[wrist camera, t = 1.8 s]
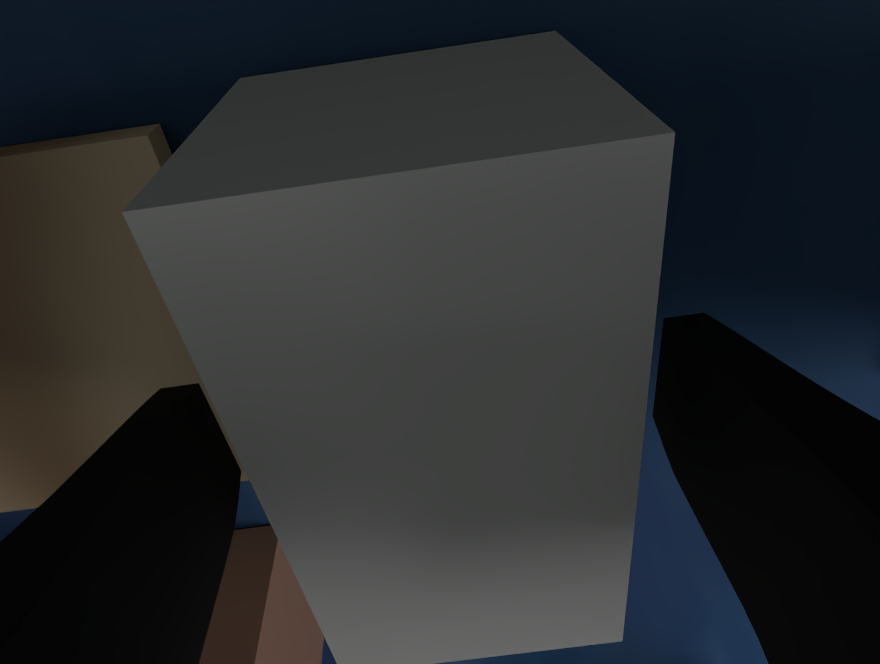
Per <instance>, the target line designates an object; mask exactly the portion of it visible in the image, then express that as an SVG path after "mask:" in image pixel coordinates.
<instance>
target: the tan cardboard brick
mask: <svg viewBox="0 0 880 664" xmlns="http://www.w3.org/2000/svg"><path fill="white" fill-rule="evenodd" d="M323 640H324V635H323V633H322V631H321V629H320V627H319V625H318V623H317V621H316V618H315V616H314V614H313V612H312V610H311V608H310V606H309V604H308V602H307V600H306V597H305V595H304V593H303V591H302V589H301V587H300V585H299V583H298V581H297V579H296V577H295V574H294V572H293V570H292V568H291V566H290V564H289V562H288V560H287V558H286V556H285V553H284V551H283V549H282V547H281V545H280V543H279V541H278V539H277V537H276V535H275V532H274V530H273V528H272V526H263V527H255V528H247V529H239V530H234V533H233V537H232V541H231V545H230V549H229V553H228V557H227V560H226V564H225V568H224V572H223V576H222V580H221V583H220V587H219V591H218V595H217V598H216V602H215V606H214V609H213V613H212V617H211V621H210V624H209V628H208V632H207V635H206V639H205V643H204V647H203V650H202V654H201V658H200V661H199V664H321V660H322V650H323Z"/></svg>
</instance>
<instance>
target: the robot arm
mask: <svg viewBox="0 0 880 664" xmlns="http://www.w3.org/2000/svg"><path fill="white" fill-rule="evenodd" d="M653 418H654V421H655V424H656V427H657V429H658V432H659V435H660V438H661V441H662V444H663V446H664V449H665V452H666V454H667V457H668V460H669V462H670V465H671V467H672V470H673V473H674V475H675V477H676V479H677V481H678V483H679V485H680V487H681V489H682V491H683V492H684V494H685V496H686V498H687V500H688V502H689V504H690V506H691V508H692V510H693V512H694V514H695V516H696V518H697V520H698V521H699V523H700V525H701V527H702V529H703V531H704V533H705V535H706V537H707V539H708V541H709V542H710V544H711V546H712V548H713V550H714V552H715V554H716V556H717V558H718V560H719V561H720V563H721V565H722V567H723V569H724V571H725V573H726V575H727V577H728V579H729V581H730V582H731V584H732V586H733V588H734V590H735V592H736V594H737V596H738V598H739V600H740V601H741V603H742V605H743V607H744V609H745V612H746V614H747V616H748V618H749V620H750V622H751V624H752V626H753V628H754V630H755V633H756V635H757V637H758V639H759V641H760V644H761V646H762V649H763V651H764V654H765V656H766V659H767V661H768V663H769V664H880V421H879V420H878V419H876V418H874V417H872V416H870V415H869V414H867V413H865V412H863V411H862V410H860V409H858V408H857V407H855V406H853V405H851V404H850V403H848V402H846V401H845V400H843V399H841V398H840V397H838V396H836V395H835V394H833V393H831V392H830V391H828V390H826V389H825V388H823V387H821V386H820V385H818V384H816V383H815V382H813V381H812V380H810V379H808V378H807V377H805V376H804V375H802V374H800V373H799V372H797V371H796V370H794V369H792V368H791V367H789V366H788V365H786V364H784V363H783V362H781V361H780V360H778V359H777V358H775V357H774V356H772V355H770V354H769V353H767V352H766V351H764V350H763V349H761V348H760V347H758V346H756V345H755V344H753V343H752V342H750V341H749V340H747V339H746V338H744V337H742V336H741V335H739V334H738V333H736V332H735V331H733V330H732V329H730V328H728V327H727V326H725V325H724V324H722V323H720V322H719V321H717V320H715V319H714V318H712V317H710V316H709V315H707V314H705V313H699V314H692V315H685V316H678V317H671V318H664V321H663V329H662V338H661V347H660V356H659V365H658V374H657V382H656V391H655V400H654V409H653ZM240 480H241V469H240V467H239V465H238V463H237V461H236V459H235V457H234V455H233V453H232V451H231V449H230V447H229V445H228V442H227V440H226V438H225V436H224V434H223V432H222V430H221V428H220V426H219V424H218V422H217V420H216V418H215V416H214V413H213V411H212V409H211V407H210V405H209V403H208V401H207V399H206V397H205V395H204V393H203V391H202V389H201V386H200V384H199V383H196V384H188V385H181V386H174V387H167V388H160V389H159V390H158V391H157V392H156V393H155V394H154V395H152V396H151V397H150V398H149V399H148V400H147V401H146V402H145V403H144V404H143V405H142V406H141V407H140V408H139V409H138V410H137V411H135V412H134V413H133V414H132V415H131V416H130V417H129V418H128V419H127V420H126V421H125V422H124V423H123V424H122V425H121V426H120V427H119V428H118V429H117V430H116V431H115V432H114V433H113V434H112V435H111V436H110V437H109V438H108V439H107V440H106V441H105V442H104V443H103V444H102V445H101V446H100V447H99V448H98V449H97V450H96V451H95V452H94V453H93V454H92V455H91V456H90V457H89V458H88V459H87V460H86V461H85V462H84V463H83V464H82V465H81V466H80V467H79V468H78V469H77V470H76V471H75V472H74V473H73V474H72V475H71V476H70V477H69V478H68V479H67V480H66V481H65V482H64V483H63V484H62V485H61V486H60V487H59V488H58V489H57V490H56V491H55V492H54V493H53V494H52V495H51V496H50V497H49V498H48V499H47V500H46V501H45V502H43V503H42V504H41V505H40V506H39V507H38V508H37V509H36V510H35V511H34V512H33V513H32V514H30V515H29V516H28V517H27V518H26V519H25V520H24V521H23V522H22V523H21V524H20V525H19V526H17V527H16V528H15V529H14V530H13V531H12V532H11V533H10V534H9V535H8V536H7V537H6V538H4V539H3V540H2V541H1V542H0V664H199V661H200V658H201V654H202V650H203V647H204V643H205V639H206V635H207V632H208V628H209V624H210V621H211V617H212V613H213V609H214V606H215V602H216V598H217V595H218V591H219V587H220V583H221V580H222V576H223V572H224V568H225V564H226V560H227V557H228V553H229V549H230V545H231V541H232V537H233V533H234V527H235V520H236V513H237V506H238V498H239V489H240Z"/></svg>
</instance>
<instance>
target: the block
mask: <svg viewBox="0 0 880 664" xmlns="http://www.w3.org/2000/svg"><path fill="white" fill-rule="evenodd" d="M674 139H675V132H674V131H673V130H672V129H671V128H669V127H668V126H667V125H666V124H665V123H664V122H662V121H661V120H660V119H659V118H658V117H657V116H655V115H654V114H653V113H652V112H651V111H649V110H648V109H647V108H646V107H645V106H644V105H642V104H641V103H640V102H639V101H638V100H637V99H635V98H634V97H633V96H632V95H631V94H629V93H628V92H627V91H626V90H625V89H624V88H622V87H621V86H620V85H619V84H618V83H617V82H615V81H614V80H613V79H612V78H611V77H609V76H608V75H607V74H606V73H605V72H604V71H602V70H601V69H600V68H599V67H598V66H596V65H595V64H594V63H593V62H592V61H591V60H589V59H588V58H587V57H586V56H585V55H584V54H582V53H581V52H580V51H579V50H578V49H576V48H575V47H574V46H573V45H572V44H571V43H569V42H568V41H567V40H566V39H565V38H564V37H562V36H561V35H560V34H559V33H558V32H556V31H550V32H543V33H537V34H530V35H523V36H517V37H510V38H503V39H497V40H490V41H483V42H477V43H470V44H463V45H457V46H450V47H443V48H437V49H430V50H423V51H417V52H410V53H403V54H397V55H390V56H383V57H377V58H370V59H363V60H357V61H350V62H344V63H337V64H330V65H324V66H317V67H310V68H304V69H297V70H290V71H284V72H277V73H270V74H264V75H257V76H250V77H244V78H240V79H239V80H238V81H237V82H236V83H235V84H234V85H233V87H232V88H231V89H230V90H229V91H228V92H227V93H226V95H225V96H224V97H223V98H222V99H221V100H220V101H219V102H218V104H217V105H216V106H215V107H214V108H213V109H212V110H211V112H210V113H209V114H208V115H207V116H206V117H205V118H204V119H203V121H202V122H201V123H200V124H199V125H198V126H197V127H196V129H195V130H194V131H193V132H192V133H191V134H190V135H189V136H188V138H187V139H186V140H185V141H184V142H183V143H182V144H181V146H180V147H179V148H178V149H177V150H176V151H175V152H174V154H173V155H172V156H171V157H170V158H169V159H168V160H167V161H166V163H165V164H164V165H163V166H162V167H161V168H160V169H159V171H158V172H157V173H156V174H155V175H154V176H153V177H152V178H151V180H150V181H149V182H148V183H147V184H146V185H145V186H144V188H143V189H142V190H141V191H140V192H139V193H138V194H137V195H136V197H135V198H134V199H133V200H132V201H131V202H130V203H129V205H128V206H127V207H126V208H125V209H124V210H123V211H122V214H123V216H124V218H125V220H126V222H127V224H128V226H129V228H130V230H131V232H132V235H133V237H134V239H135V241H136V243H137V245H138V247H139V249H140V251H141V253H142V256H143V258H144V260H145V262H146V264H147V266H148V268H149V270H150V272H151V274H152V276H153V279H154V281H155V283H156V285H157V287H158V289H159V291H160V293H161V295H162V297H163V300H164V302H165V304H166V306H167V308H168V310H169V312H170V314H171V316H172V318H173V321H174V323H175V325H176V327H177V329H178V331H179V333H180V335H181V337H182V339H183V342H184V344H185V346H186V348H187V350H188V352H189V354H190V356H191V358H192V360H193V363H194V365H195V367H196V369H197V371H198V373H199V375H200V377H201V379H202V381H203V383H204V386H205V388H206V390H207V392H208V394H209V396H210V398H211V400H212V402H213V404H214V407H215V409H216V411H217V413H218V415H219V417H220V419H221V421H222V423H223V425H224V428H225V430H226V432H227V434H228V436H229V438H230V440H231V442H232V444H233V446H234V449H235V451H236V453H237V455H238V457H239V459H240V461H241V463H242V465H243V467H244V470H245V472H246V474H247V476H248V478H249V480H250V482H251V484H252V486H253V488H254V490H255V493H256V495H257V497H258V499H259V501H260V503H261V505H262V507H263V509H264V511H265V514H266V516H267V518H268V520H269V522H270V524H271V526H272V528H273V530H274V532H275V535H276V537H277V539H278V541H279V543H280V545H281V547H282V549H283V551H284V553H285V556H286V558H287V560H288V562H289V564H290V566H291V568H292V570H293V572H294V574H295V577H296V579H297V581H298V583H299V585H300V587H301V589H302V591H303V593H304V595H305V597H306V600H307V602H308V604H309V606H310V608H311V610H312V612H313V614H314V616H315V618H316V621H317V623H318V625H319V627H320V629H321V631H322V633H323V635H324V637H325V639H326V642H327V644H328V646H329V648H330V650H331V652H332V654H333V656H334V658H335V660H336V663H337V664H435V663H443V662H452V661H460V660H468V659H477V658H485V657H494V656H502V655H510V654H519V653H527V652H535V651H544V650H552V649H561V648H569V647H577V646H586V645H594V644H602V643H611V642H619V641H622V639H623V629H624V620H625V610H626V601H627V591H628V581H629V572H630V562H631V552H632V543H633V533H634V524H635V514H636V504H637V495H638V485H639V476H640V466H641V456H642V447H643V437H644V427H645V418H646V408H647V399H648V389H649V379H650V370H651V360H652V351H653V341H654V331H655V322H656V312H657V303H658V293H659V283H660V274H661V264H662V254H663V245H664V235H665V226H666V216H667V206H668V197H669V187H670V178H671V168H672V158H673V149H674Z"/></svg>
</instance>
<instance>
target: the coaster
mask: <svg viewBox="0 0 880 664" xmlns="http://www.w3.org/2000/svg"><path fill="white" fill-rule="evenodd" d="M171 156H172V153H171V150H170V148H169V145H168V143H167V140H166V138H165V135H164V133H163V130H162V128H161V125H160V124H154V125H147V126H141V127H134V128H127V129H120V130H114V131H107V132H100V133H93V134H87V135H80V136H73V137H67V138H60V139H53V140H46V141H40V142H33V143H26V144H19V145H13V146H6V147H0V513H1V512H9V511H17V510H24V509H32V508H38V507H39V506H40V505H41V504H42V503H43V502H45V501H46V500H47V499H48V498H49V497H50V496H51V495H52V494H53V493H54V492H55V491H56V490H57V489H58V488H59V487H60V486H61V485H62V484H63V483H64V482H65V481H66V480H67V479H68V478H69V477H70V476H71V475H72V474H73V473H74V472H75V471H76V470H77V469H78V468H79V467H80V466H81V465H82V464H83V463H84V462H85V461H86V460H87V459H88V458H89V457H90V456H91V455H92V454H93V453H94V452H95V451H96V450H97V449H98V448H99V447H100V446H101V445H102V444H103V443H104V442H105V441H106V440H107V439H108V438H109V437H110V436H111V435H112V434H113V433H114V432H115V431H116V430H117V429H118V428H119V427H120V426H121V425H122V424H123V423H124V422H125V421H126V420H127V419H128V418H129V417H130V416H131V415H132V414H133V413H134V412H135V411H137V410H138V409H139V408H140V407H141V406H142V405H143V404H144V403H145V402H146V401H147V400H148V399H149V398H150V397H151V396H152V395H154V394H155V393H156V392H157V391H158V390H159V389H160V388H167V387H174V386H181V385H188V384H196V383H199V384H200V386H201V389H202V391H203V393H204V395H205V397H206V399H207V401H208V403H209V405H210V407H211V409H212V411H213V413H214V416H215V418H216V420H217V422H218V424H219V426H220V428H221V430H222V432H223V434H224V436H225V438H226V440H227V442H228V445H229V447H230V449H231V451H232V453H233V455H234V457H235V459H236V461H237V463H238V465H239V467H240V469H241V480H240V481H248V480H249V478H248V476H247V474H246V472H245V470H244V467H243V465H242V463H241V461H240V459H239V457H238V455H237V453H236V451H235V449H234V446H233V444H232V442H231V440H230V438H229V436H228V434H227V432H226V430H225V428H224V425H223V423H222V421H221V419H220V417H219V415H218V413H217V411H216V409H215V407H214V404H213V402H212V400H211V398H210V396H209V394H208V392H207V390H206V388H205V386H204V383H203V381H202V379H201V377H200V375H199V373H198V371H197V369H196V367H195V365H194V363H193V360H192V358H191V356H190V354H189V352H188V350H187V348H186V346H185V344H184V342H183V339H182V337H181V335H180V333H179V331H178V329H177V327H176V325H175V323H174V321H173V318H172V316H171V314H170V312H169V310H168V308H167V306H166V304H165V302H164V300H163V297H162V295H161V293H160V291H159V289H158V287H157V285H156V283H155V281H154V279H153V276H152V274H151V272H150V270H149V268H148V266H147V264H146V262H145V260H144V258H143V256H142V253H141V251H140V249H139V247H138V245H137V243H136V241H135V239H134V237H133V235H132V232H131V230H130V228H129V226H128V224H127V222H126V220H125V218H124V216H123V214H122V211H123V210H124V209H125V208H126V207H127V206H128V205H129V203H130V202H131V201H132V200H133V199H134V198H135V197H136V195H137V194H138V193H139V192H140V191H141V190H142V189H143V188H144V186H145V185H146V184H147V183H148V182H149V181H150V180H151V178H152V177H153V176H154V175H155V174H156V173H157V172H158V171H159V169H160V168H161V167H162V166H163V165H164V164H165V163H166V161H167V160H168V159H169V158H170V157H171Z"/></svg>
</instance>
